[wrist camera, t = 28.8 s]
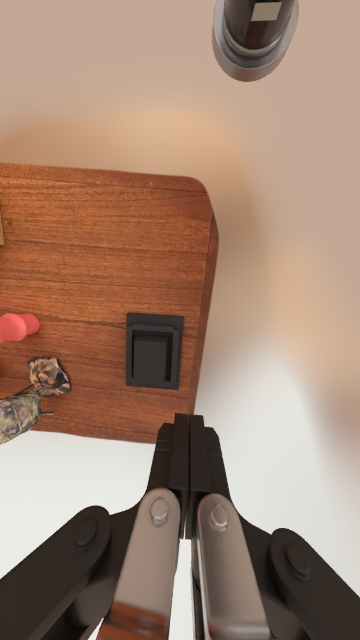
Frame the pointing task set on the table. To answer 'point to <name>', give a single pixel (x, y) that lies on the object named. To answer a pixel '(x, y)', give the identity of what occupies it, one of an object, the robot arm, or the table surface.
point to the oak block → (1, 232)
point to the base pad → (155, 326)
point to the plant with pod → (31, 398)
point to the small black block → (150, 358)
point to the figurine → (17, 326)
